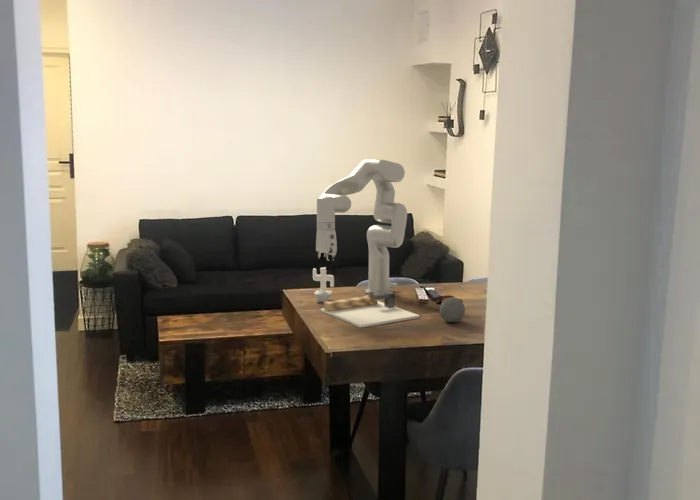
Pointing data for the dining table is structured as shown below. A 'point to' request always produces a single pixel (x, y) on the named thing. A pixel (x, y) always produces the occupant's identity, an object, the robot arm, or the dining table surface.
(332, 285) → the figurine
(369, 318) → the pivot board
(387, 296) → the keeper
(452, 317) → the decorative ball
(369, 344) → the dining table surface
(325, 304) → the oak link
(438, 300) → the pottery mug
